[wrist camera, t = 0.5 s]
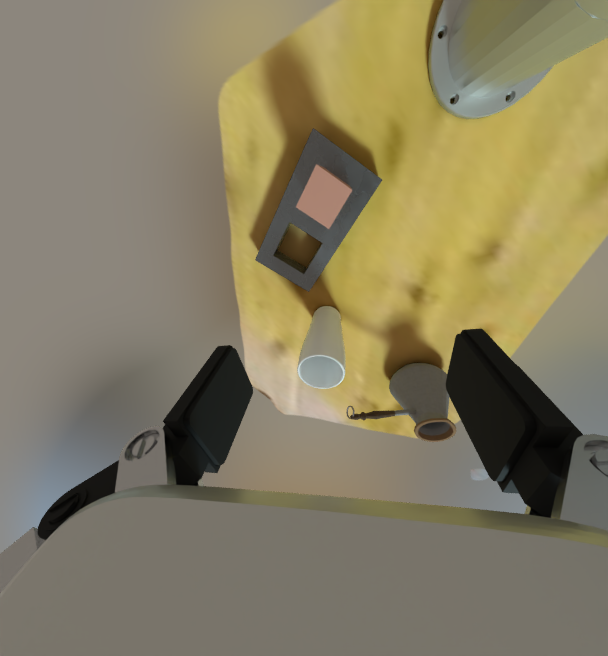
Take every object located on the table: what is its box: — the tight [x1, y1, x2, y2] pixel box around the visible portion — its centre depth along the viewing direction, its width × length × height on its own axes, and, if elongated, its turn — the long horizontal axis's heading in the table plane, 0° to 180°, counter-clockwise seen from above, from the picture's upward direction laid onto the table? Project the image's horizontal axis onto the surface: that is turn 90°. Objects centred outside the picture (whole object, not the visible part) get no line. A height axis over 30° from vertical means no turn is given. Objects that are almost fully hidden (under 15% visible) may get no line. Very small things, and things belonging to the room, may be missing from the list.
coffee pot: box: [347, 363, 456, 442], centre depth 42 cm, size 21×12×15 cm, turn 75°
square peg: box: [296, 164, 352, 229], centre depth 25 cm, size 4×4×9 cm
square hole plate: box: [255, 128, 382, 292], centre depth 33 cm, size 18×10×3 cm, turn 150°
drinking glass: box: [297, 306, 345, 389], centre depth 37 cm, size 7×7×15 cm
